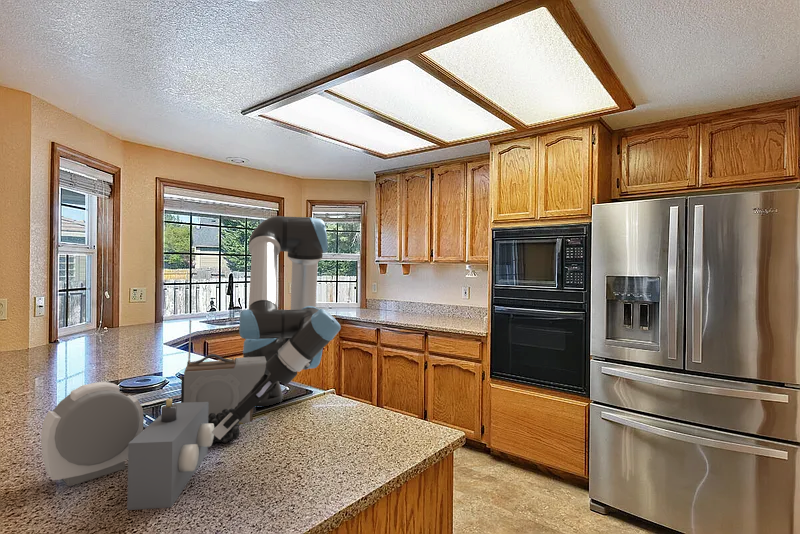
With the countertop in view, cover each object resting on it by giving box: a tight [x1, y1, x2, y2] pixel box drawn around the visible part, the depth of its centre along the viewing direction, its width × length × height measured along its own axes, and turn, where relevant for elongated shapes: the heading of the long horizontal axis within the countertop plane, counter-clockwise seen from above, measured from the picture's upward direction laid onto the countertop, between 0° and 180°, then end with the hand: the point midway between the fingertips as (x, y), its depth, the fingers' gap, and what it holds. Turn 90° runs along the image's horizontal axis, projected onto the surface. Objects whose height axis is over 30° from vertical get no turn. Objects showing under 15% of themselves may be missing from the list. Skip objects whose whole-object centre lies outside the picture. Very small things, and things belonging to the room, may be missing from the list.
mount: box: [126, 402, 209, 511], centre depth 95 cm, size 24×8×13 cm, turn 9°
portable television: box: [179, 319, 267, 424], centre depth 131 cm, size 12×24×30 cm, turn 112°
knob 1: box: [178, 444, 199, 472], centre depth 89 cm, size 5×7×5 cm
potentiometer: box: [160, 398, 177, 423], centre depth 95 cm, size 3×3×5 cm
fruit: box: [208, 409, 244, 444], centre depth 115 cm, size 9×8×15 cm
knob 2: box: [197, 423, 214, 448], centre depth 101 cm, size 5×7×5 cm
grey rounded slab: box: [40, 381, 145, 487], centre depth 96 cm, size 18×8×20 cm, turn 141°
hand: (216, 434), depth 102 cm, fingers closed
